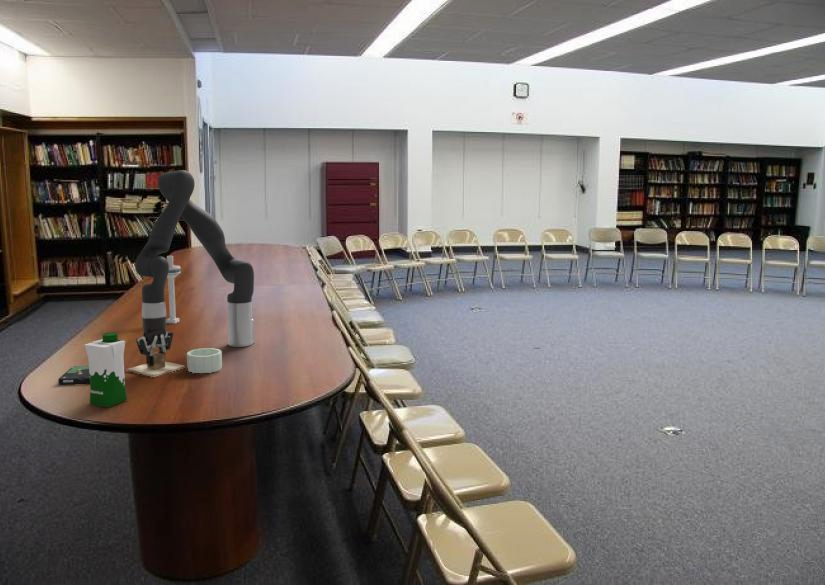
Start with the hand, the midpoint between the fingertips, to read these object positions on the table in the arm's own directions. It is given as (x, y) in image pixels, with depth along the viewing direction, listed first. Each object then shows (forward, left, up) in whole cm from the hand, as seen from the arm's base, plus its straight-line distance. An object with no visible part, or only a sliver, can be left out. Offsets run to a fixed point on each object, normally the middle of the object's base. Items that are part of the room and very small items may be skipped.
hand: (156, 364), depth 226 cm
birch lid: (0, 0, -2) cm, 2 cm away
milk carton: (+30, +15, -2) cm, 33 cm away
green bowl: (-9, +13, -2) cm, 16 cm away
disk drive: (+19, -13, -3) cm, 23 cm away
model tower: (-54, -54, -2) cm, 77 cm away
